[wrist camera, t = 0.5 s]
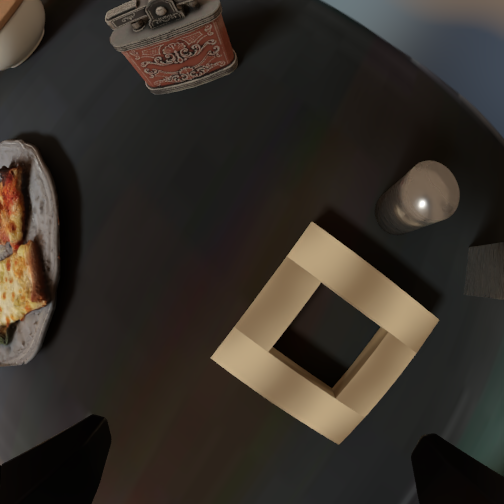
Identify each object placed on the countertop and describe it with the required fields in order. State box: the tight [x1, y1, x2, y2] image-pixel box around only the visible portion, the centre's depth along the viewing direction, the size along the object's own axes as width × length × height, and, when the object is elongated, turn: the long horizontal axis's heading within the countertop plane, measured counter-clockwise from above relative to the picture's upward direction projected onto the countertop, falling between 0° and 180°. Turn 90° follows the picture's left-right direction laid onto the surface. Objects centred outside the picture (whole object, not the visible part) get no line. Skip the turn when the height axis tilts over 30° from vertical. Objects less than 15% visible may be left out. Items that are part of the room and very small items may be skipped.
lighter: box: [105, 0, 238, 94], centre depth 19 cm, size 8×3×10 cm, turn 101°
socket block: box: [211, 222, 439, 444], centre depth 20 cm, size 11×11×2 cm
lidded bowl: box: [0, 0, 45, 71], centre depth 23 cm, size 13×13×11 cm
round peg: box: [375, 161, 459, 235], centre depth 18 cm, size 3×3×7 cm
